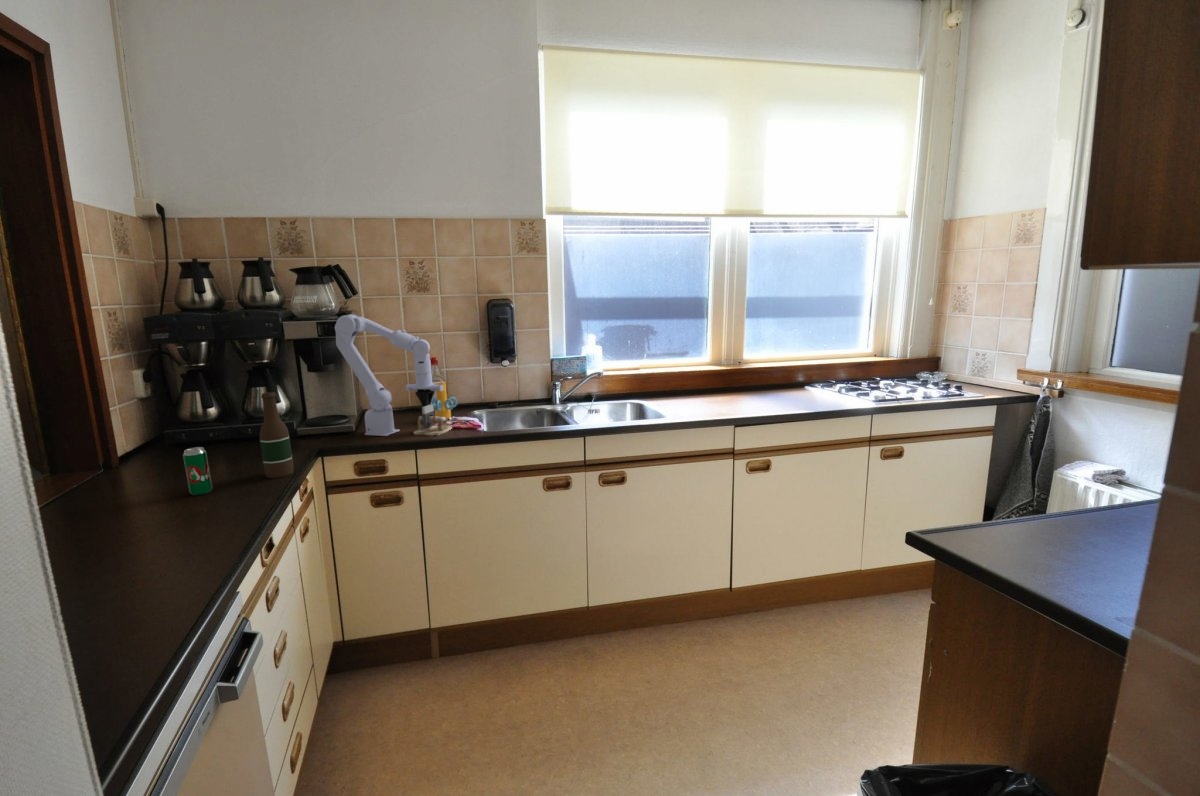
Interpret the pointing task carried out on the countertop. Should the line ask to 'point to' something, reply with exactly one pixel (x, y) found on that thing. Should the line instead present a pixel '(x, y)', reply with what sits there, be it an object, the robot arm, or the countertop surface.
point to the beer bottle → (274, 441)
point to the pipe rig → (432, 430)
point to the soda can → (197, 471)
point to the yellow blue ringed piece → (443, 402)
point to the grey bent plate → (426, 412)
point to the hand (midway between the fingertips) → (426, 409)
